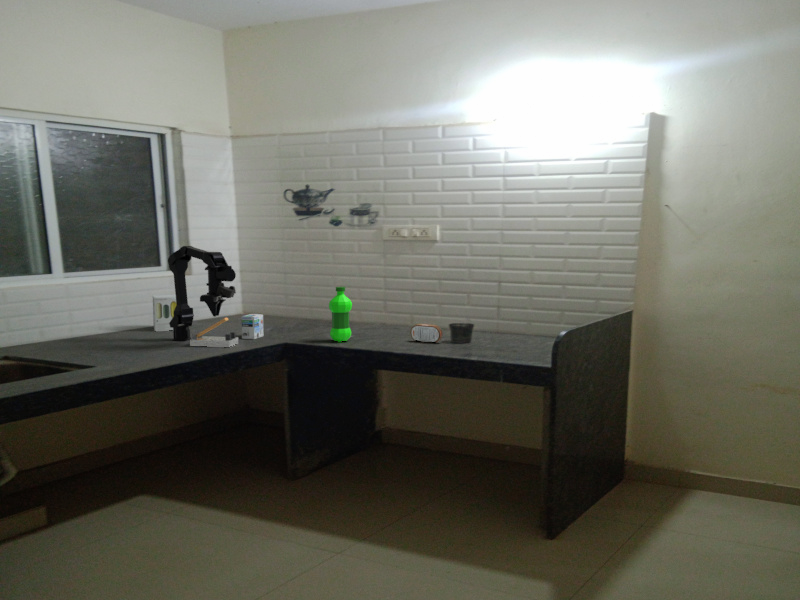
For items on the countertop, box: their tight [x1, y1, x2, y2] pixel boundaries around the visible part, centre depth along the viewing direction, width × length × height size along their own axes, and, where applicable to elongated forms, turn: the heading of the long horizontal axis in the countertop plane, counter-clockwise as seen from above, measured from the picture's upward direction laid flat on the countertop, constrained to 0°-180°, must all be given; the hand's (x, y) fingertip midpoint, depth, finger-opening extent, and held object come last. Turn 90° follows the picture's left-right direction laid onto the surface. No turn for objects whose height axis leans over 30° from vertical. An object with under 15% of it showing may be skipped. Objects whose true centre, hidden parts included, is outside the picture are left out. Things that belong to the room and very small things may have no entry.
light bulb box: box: [241, 313, 264, 340], centre depth 301 cm, size 11×7×11 cm, turn 168°
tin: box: [409, 323, 443, 343], centre depth 289 cm, size 15×3×8 cm, turn 65°
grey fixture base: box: [189, 331, 239, 348], centre depth 280 cm, size 18×10×6 cm, turn 82°
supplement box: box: [152, 293, 181, 332], centre depth 327 cm, size 13×13×18 cm
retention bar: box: [196, 317, 229, 338], centre depth 280 cm, size 16×3×1 cm, turn 84°
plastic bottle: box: [328, 286, 353, 343], centre depth 290 cm, size 10×10×25 cm
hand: (215, 316), depth 279 cm, fingers open, 3 cm apart
